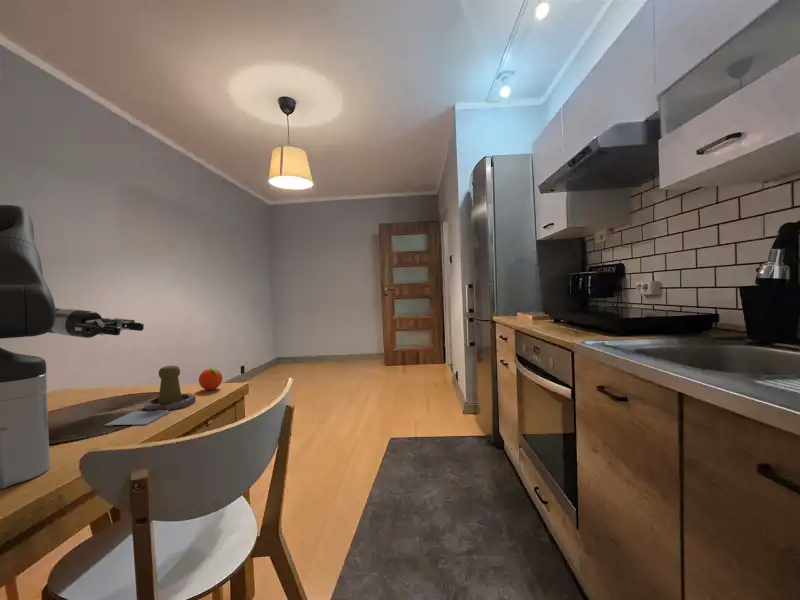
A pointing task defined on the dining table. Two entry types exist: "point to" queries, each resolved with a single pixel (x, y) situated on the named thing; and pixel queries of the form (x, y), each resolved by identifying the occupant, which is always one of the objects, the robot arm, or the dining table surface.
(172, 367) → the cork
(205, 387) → the clementine
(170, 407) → the dark grey flat ring
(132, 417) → the rubber mat
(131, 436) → the dining table surface
